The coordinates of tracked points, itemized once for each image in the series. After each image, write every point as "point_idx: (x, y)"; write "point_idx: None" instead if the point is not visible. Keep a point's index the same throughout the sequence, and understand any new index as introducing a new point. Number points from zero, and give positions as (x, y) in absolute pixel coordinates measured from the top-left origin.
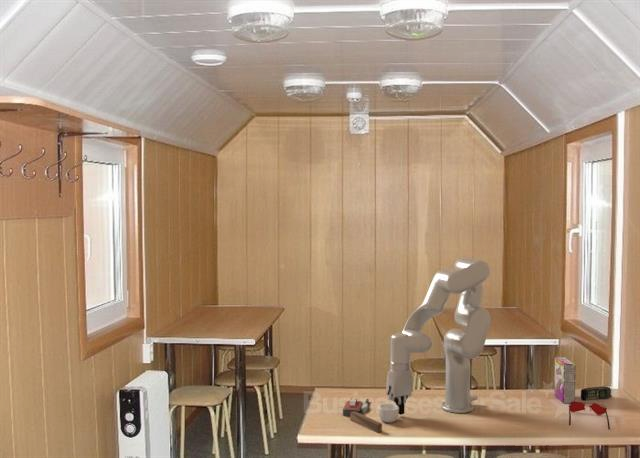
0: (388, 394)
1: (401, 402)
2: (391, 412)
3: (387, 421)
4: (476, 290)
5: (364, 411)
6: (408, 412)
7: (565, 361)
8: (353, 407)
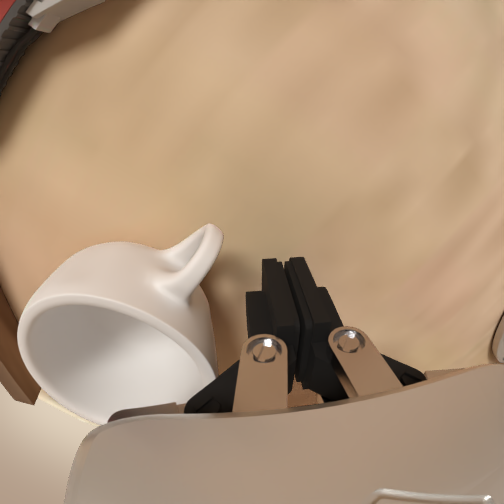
0: (135, 425)
1: (308, 377)
2: (107, 409)
3: (104, 331)
4: None
5: (77, 11)
6: (399, 232)
7: None
8: None
